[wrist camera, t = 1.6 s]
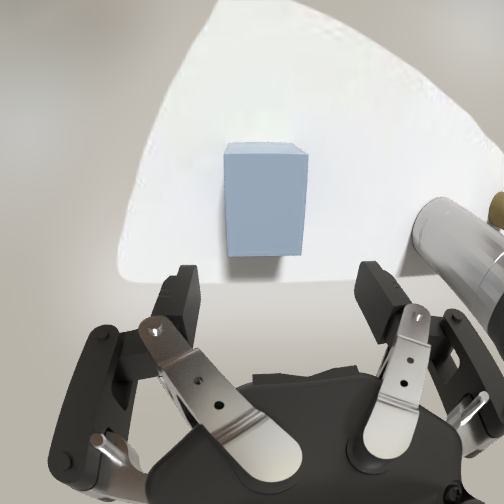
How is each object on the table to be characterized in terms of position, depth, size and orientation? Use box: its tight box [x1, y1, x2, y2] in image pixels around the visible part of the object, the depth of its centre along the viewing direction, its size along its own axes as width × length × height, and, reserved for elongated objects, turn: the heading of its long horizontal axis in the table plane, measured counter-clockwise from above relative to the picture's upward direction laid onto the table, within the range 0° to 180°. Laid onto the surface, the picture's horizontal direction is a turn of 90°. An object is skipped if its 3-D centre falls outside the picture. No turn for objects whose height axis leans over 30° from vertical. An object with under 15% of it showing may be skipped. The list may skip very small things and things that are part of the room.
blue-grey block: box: [224, 142, 308, 257], centre depth 25 cm, size 9×6×8 cm
